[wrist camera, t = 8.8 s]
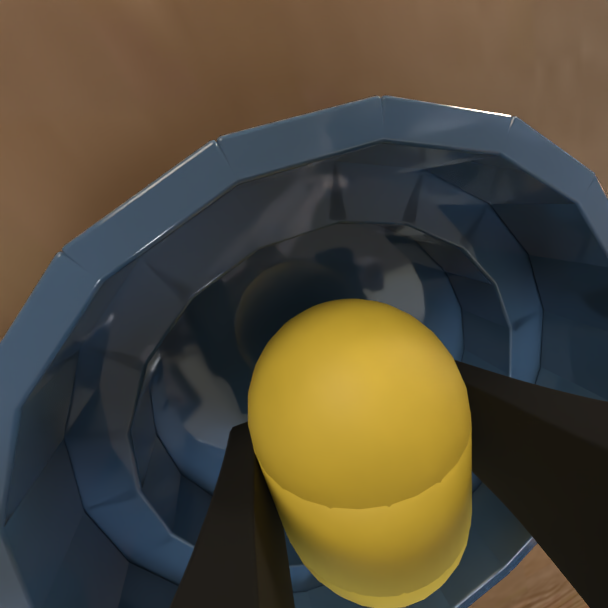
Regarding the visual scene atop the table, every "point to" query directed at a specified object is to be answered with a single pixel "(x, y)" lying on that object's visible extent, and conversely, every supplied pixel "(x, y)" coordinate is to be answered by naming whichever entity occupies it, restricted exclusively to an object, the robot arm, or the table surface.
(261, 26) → the table surface
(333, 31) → the table surface
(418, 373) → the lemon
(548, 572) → the table surface
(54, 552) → the bowl
